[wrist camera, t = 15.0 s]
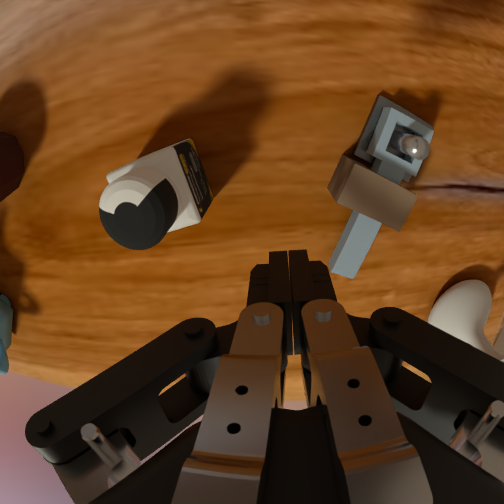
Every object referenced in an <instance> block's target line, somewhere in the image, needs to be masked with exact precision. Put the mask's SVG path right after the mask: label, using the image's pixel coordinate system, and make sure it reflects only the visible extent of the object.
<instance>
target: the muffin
mask: <svg viewBox="0 0 504 504" xmlns="http://www.w3.org/2000/svg"><path fill="white" fill-rule="evenodd" d="M23 174H24V164H23V151H22V149H21V148H20V146H19V144H18V142H17V140H16V137H14V136H10V135H8V134H6V133H5V132H0V202H1V201H2V200H4V199H5V198H6V197H7V196H8V195H10V194H11V193H12V192H13V191H15V190H16V189H17V188H18V187H19V184H20V181H21V178H22V176H23Z"/></svg>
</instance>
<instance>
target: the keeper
mask: <svg viewBox="0 0 504 504" xmlns="http://www.w3.org/2000/svg"><path fill="white" fill-rule="evenodd" d="M327 188H328V190H329V191H330V193H331V195H332V196H333V198H334V199H335V201H336V203H338V204H340V205H343V206H345V207H347V208H350V209H352V210H354V211H356V212H358V213H361V214H363V215H365V216H367V217H369V218H372V219H374V220H376V221H378V222H380V223H382V224H385V225H387V226H389V227H391V228H393V229H395V230H397V231H400V229H401V228H402V226H403V224H404V222H405V220H406V218H407V216H408V215H409V213H410V211H411V209H412V207H413V205H414V203H415V201H416V199H417V197H418V196H417V195H416V194H415V193H413V192H411V191H409V190H407V189H406V188H404V187H402V186H400V185H398V184H396V183H395V182H393V181H391V180H389V179H387V178H385V177H383V176H381V175H379V174H377V173H375V172H373V171H371V170H370V169H368V168H367V167H366V166H364V165H363V164H361V163H360V162H358V161H356V160H354V159H352V158H350V157H348V156H346V155H344V154H342V157H341V159H340V161H339V163H338V165H337V168H336V170H335V172H334V174H333V176H332V179H331V181H330V183H329V185H328V187H327Z"/></svg>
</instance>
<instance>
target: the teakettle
mask: <svg viewBox="0 0 504 504" xmlns="http://www.w3.org/2000/svg"><path fill="white" fill-rule="evenodd" d="M12 319H13V309H12V308H11V303H10V301H9V299H8V298H7V297H6V296H5V295H3V294H2V295H0V374H6V373H7V372H8V369H9V361H8V356H7V353H6V350H7V349H8V348H9V346H10V345H11V334H12Z"/></svg>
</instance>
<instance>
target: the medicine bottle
mask: <svg viewBox="0 0 504 504" xmlns="http://www.w3.org/2000/svg"><path fill="white" fill-rule="evenodd" d="M107 180H108V182H109V185H108V186H107V187H106V188H105V190H104V191H103V193H102V195H101V199H100V203H99V213H100V218H101V222H102V224H103V227H104V228H105V230H106V232H107V233H108V234H109V236H110V237H111V238H112V239H113V240H114V241H116V242H117V243H118V244H120V245H122V246H124V247H126V248H129V249H133V250H144V249H148V248H151V247H153V246H155V245H156V244H158V243H159V242H160V241H161V240H162V239H163V237H164V236H165V235H166V233H167V232H170V231H173V230H177V229H180V228H183V227H187V226H190V225H193V224H197V223H199V222H200V221H201V220H202V218H203V216H204V214H205V213H206V211H207V209H208V207H209V206H210V204H211V202H212V200H213V199H214V198H213V194H212V192H211V189H210V186H209V183H208V181H207V178H206V175H205V172H204V170H203V167H202V164H201V161H200V159H199V156H198V153H197V150H196V147H195V145H194V142H193V140H192V139H191V138H189V139H186V140H183V141H181V142H178V143H175V144H173V145H170V146H168V147H165V148H163V149H160V150H158V151H155V152H153V153H150V154H148V155H145V156H143V157H141V158H138V159H136V160H134V161H132V162H130V163H128V164H126V165H124V166H122V167H120V168H118V169H116V170H114V171H112V172H110V173H108V174H107Z"/></svg>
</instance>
